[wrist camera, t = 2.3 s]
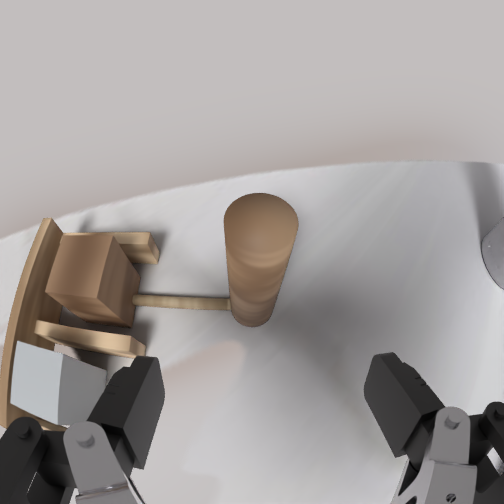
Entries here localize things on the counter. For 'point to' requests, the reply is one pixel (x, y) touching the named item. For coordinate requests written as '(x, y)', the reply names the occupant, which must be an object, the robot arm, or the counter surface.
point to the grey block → (55, 385)
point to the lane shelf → (59, 312)
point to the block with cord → (126, 297)
